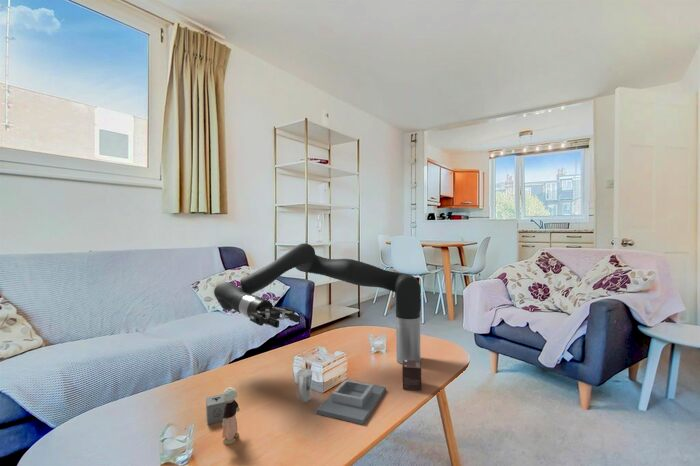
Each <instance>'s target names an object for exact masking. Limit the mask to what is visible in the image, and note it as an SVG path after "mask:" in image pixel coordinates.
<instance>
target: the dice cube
mask: <svg viewBox="0 0 700 466" xmlns="http://www.w3.org/2000/svg"><path fill="white" fill-rule="evenodd" d="M205 403H206V405H205V407H206V408H205V410H206V412H205V413H206V424H207V425H211V424H215V423H219V422H223V415H224V410H225V409H224V408H225V406H226V404H227V403H226V402H225V401H224V398H223V393H220V394H216V395H213V396H208V397H206V398H205Z"/></svg>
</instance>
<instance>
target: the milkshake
mask: <svg viewBox="0 0 700 466" xmlns="http://www.w3.org/2000/svg"><path fill="white" fill-rule="evenodd" d="M296 375H297V385H298V395H299V401H300V402H302V403H307V402H310V401H311V400H312V396H311V395H312V381H313V371H312V370H311V368H310V362H308V363H307V368H301V369H299V370H298V371H297V373H296Z"/></svg>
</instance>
